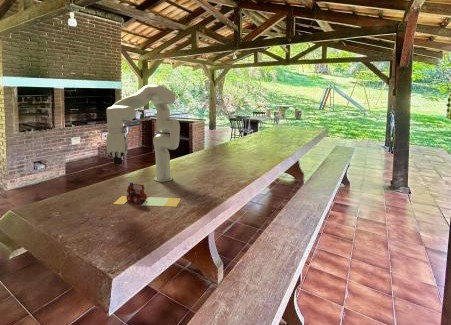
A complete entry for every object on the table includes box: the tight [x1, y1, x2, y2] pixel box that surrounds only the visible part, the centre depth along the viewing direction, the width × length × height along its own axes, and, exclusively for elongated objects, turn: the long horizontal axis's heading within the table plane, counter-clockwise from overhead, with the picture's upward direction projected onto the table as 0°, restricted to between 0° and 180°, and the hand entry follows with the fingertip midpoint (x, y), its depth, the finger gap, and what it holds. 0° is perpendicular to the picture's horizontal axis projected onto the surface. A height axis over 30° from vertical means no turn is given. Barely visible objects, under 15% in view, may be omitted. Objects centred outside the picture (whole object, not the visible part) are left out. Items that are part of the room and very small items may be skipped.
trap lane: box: [112, 195, 182, 208], centre depth 163 cm, size 12×35×1 cm, turn 86°
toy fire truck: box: [126, 182, 148, 204], centre depth 162 cm, size 7×12×10 cm, turn 61°
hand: (118, 164), depth 158 cm, fingers closed
